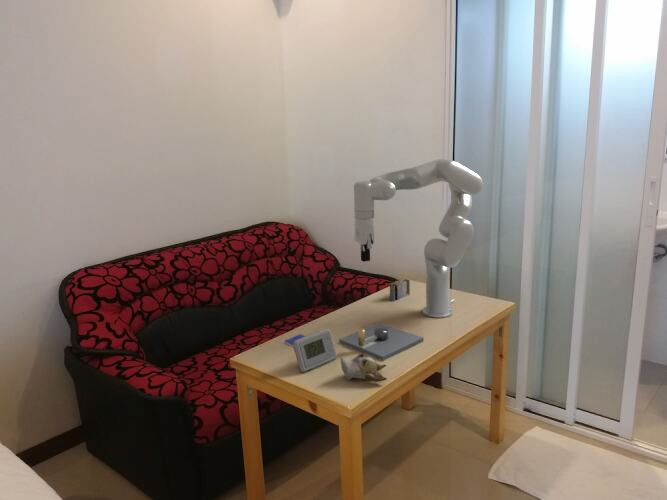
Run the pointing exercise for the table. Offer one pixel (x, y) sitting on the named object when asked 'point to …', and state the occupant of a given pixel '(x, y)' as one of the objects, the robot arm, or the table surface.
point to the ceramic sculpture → (362, 368)
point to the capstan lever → (378, 335)
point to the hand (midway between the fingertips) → (365, 260)
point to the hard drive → (293, 339)
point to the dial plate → (383, 342)
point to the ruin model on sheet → (399, 289)
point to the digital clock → (314, 350)
